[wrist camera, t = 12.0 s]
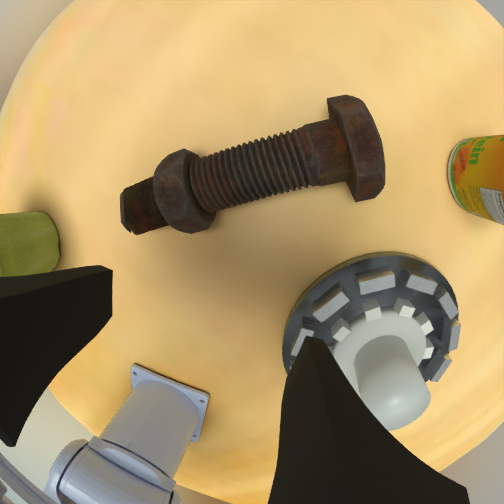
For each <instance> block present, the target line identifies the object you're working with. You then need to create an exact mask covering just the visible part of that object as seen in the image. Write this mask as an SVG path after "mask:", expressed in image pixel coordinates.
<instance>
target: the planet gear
mask: <svg viewBox="0 0 504 504" xmlns="http://www.w3.org/2000/svg"><path fill="white" fill-rule="evenodd" d="M361 304H362V309H363V313H361V314H360V315H358V316H356V317H355V318H353V319H352V320H351V321H349V322H348V321H346V320H345V319H343V318H342V317H340V318H339V319H338V320H337V321H336V322H335V324H334V325H333V326H332V327H331V330H332V337H333V338H335V341H334V343H333V346H328V348H329V350H330V351H331V353H332V355H333V356H334V358H335V360H336V361H337V363H338V365H339V366H340V368H341V370H342V371H343V373H344V374H345V376H346V378H347V379H348V381H349V382H350V384H351V385H352V387H353V388H354V390H355V391H356V393H357V394H358V395H359V397H360V398H361V399H362V401H363V402H364V403H365V405H366V406H367V407H368V409H369V410H370V411H371V412H372V414H373V415H374V416H375V417H376V418H377V419H378V420H379V422H380V423H381V424H382V425H383V426H384V427H385V428H386V429H387V430H388V431H391V430H395V429H399V428H401V427H404V426H406V425H408V424H410V423H411V422H413V421H414V420H416V419H417V418H418V417H419V416H421V415H422V414H423V412H424V411H425V410H426V409H427V407H428V405H429V403H430V399H431V396H430V392H429V390H428V388H427V386H426V383H425V381H424V379H423V377H422V375H421V373H420V371H419V369H418V366H419V364H420V363H421V361H422V359H427V358H431V355H432V352H433V349H434V346H433V344H432V343H431V341H430V340H429V338H426V336H425V335H427V334H428V333H430V332H431V331H432V330H434V329H433V327H432V325H431V322H430V320H429V319H428V318H427V316H426V315H425V314H424V312H422V313H421V314H419V315H418V316H417V317H414V316H413V313H414V311H415V307H414V306H413V305H412V303H411V302H410V301H409V300H406V299H402V298H399V297H398V298H397V300H396V302H395V304H394V306H393V307H380V306H379V304H378V302H377V301H376V299H372V300H369V301H366V302H363V303H361Z"/></svg>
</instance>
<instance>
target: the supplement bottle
mask: <svg viewBox="0 0 504 504" xmlns="http://www.w3.org/2000/svg"><path fill="white" fill-rule="evenodd" d="M448 180H449V185H450V189H451V191H452V194H453V196H454V198H455V200H456V201H457V203H458V204H459V205H460V206H461V207H462V208H463V209H464V210H466V211H467V212H469V213H471V214H474V215H477V216H480V217H483V218H485V219H488V220H491V221H494V222H497V223H500V224H502V225H504V135H495V136H485V137H475V138H469V139H465V140H463V141H461V142H459V143H458V144H457V145H456V146H455V148H454V149H453V151H452V153H451V155H450V158H449V163H448Z"/></svg>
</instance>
